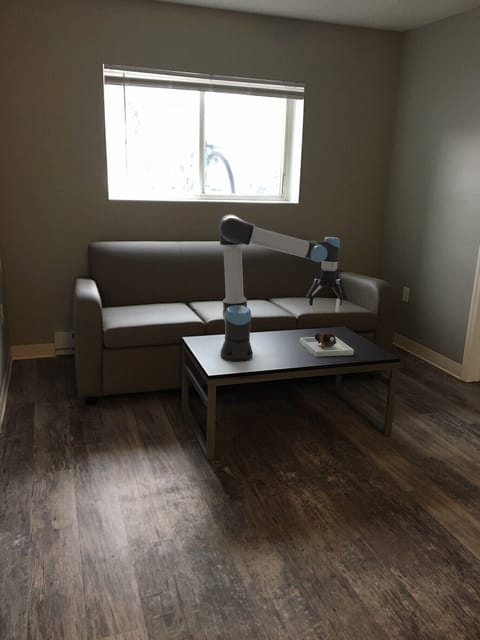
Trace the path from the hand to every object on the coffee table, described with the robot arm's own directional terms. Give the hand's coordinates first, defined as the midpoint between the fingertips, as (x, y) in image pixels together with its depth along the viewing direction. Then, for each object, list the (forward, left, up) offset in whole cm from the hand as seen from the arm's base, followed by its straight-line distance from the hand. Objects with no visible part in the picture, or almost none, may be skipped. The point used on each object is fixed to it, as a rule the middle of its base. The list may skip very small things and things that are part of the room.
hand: (324, 311), depth 254 cm
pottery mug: (+2, 0, -19) cm, 19 cm away
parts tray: (+2, 0, -19) cm, 19 cm away
